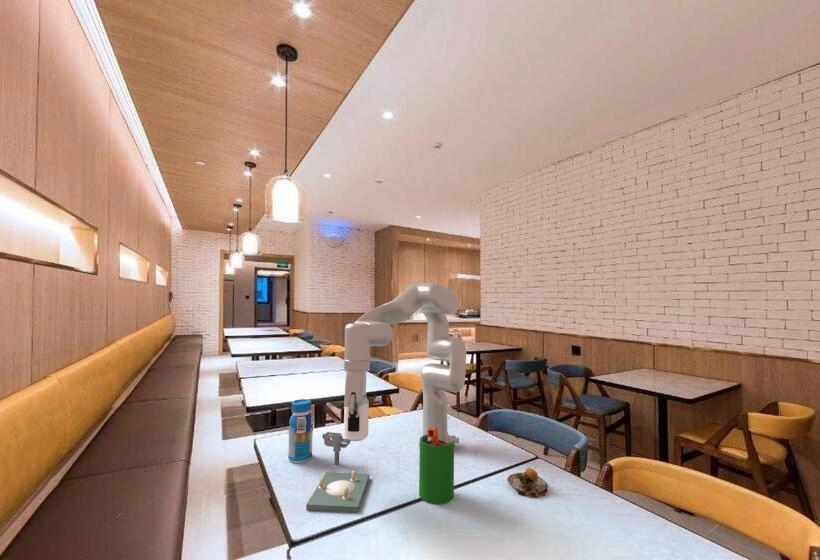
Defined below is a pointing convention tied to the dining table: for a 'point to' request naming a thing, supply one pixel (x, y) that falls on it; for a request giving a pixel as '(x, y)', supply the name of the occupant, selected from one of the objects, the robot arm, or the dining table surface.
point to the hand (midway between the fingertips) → (356, 425)
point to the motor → (436, 469)
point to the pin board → (339, 492)
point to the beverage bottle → (300, 432)
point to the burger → (528, 483)
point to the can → (362, 422)
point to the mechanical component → (335, 443)
